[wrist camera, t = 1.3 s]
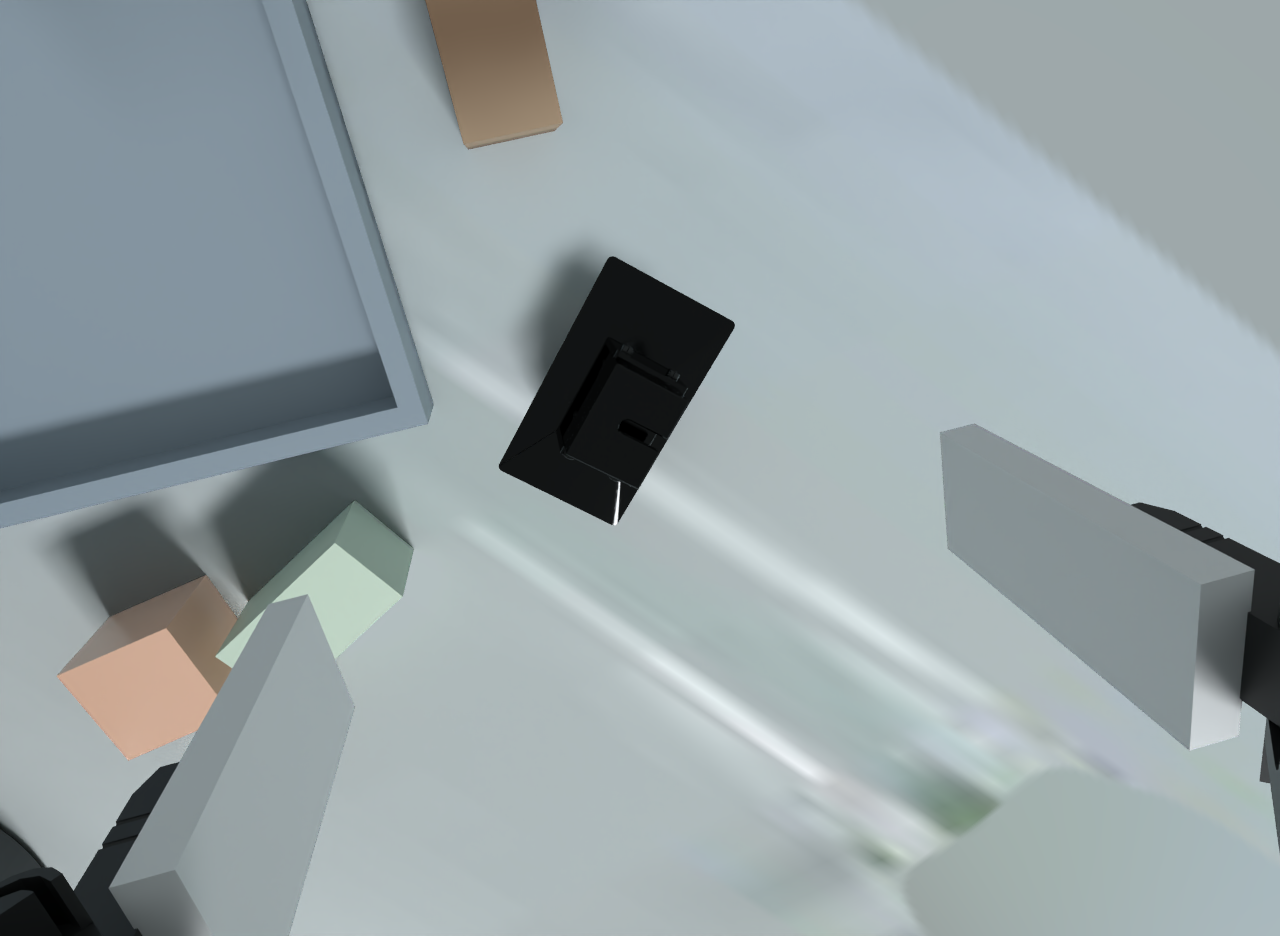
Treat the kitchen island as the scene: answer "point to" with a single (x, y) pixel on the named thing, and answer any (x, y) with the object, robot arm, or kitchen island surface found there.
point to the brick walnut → (495, 69)
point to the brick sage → (335, 581)
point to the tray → (182, 253)
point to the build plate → (615, 391)
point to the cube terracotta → (154, 667)
